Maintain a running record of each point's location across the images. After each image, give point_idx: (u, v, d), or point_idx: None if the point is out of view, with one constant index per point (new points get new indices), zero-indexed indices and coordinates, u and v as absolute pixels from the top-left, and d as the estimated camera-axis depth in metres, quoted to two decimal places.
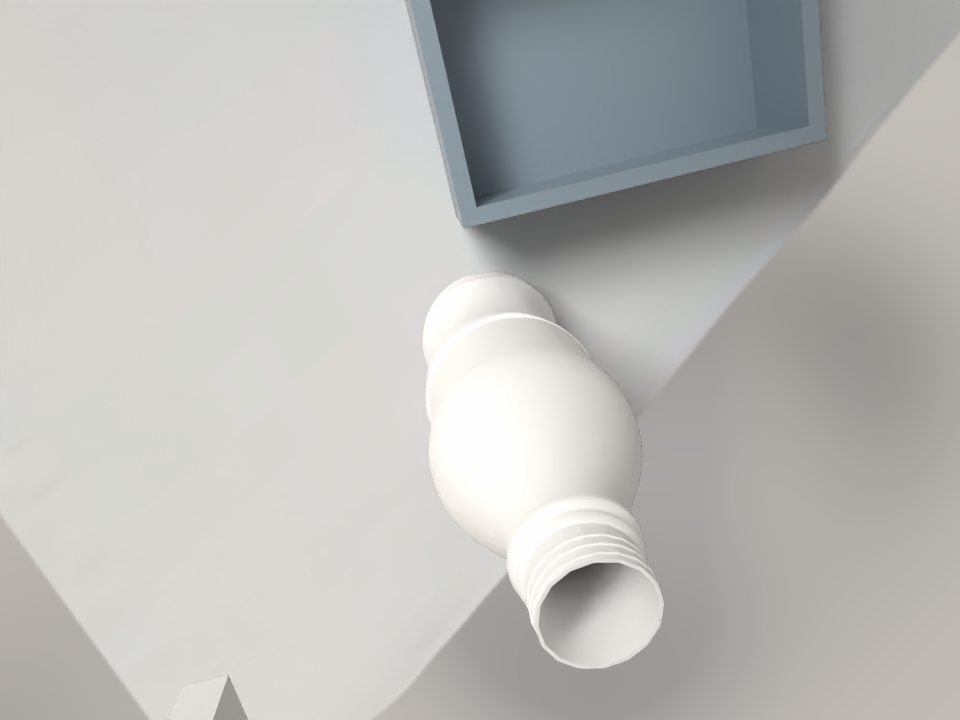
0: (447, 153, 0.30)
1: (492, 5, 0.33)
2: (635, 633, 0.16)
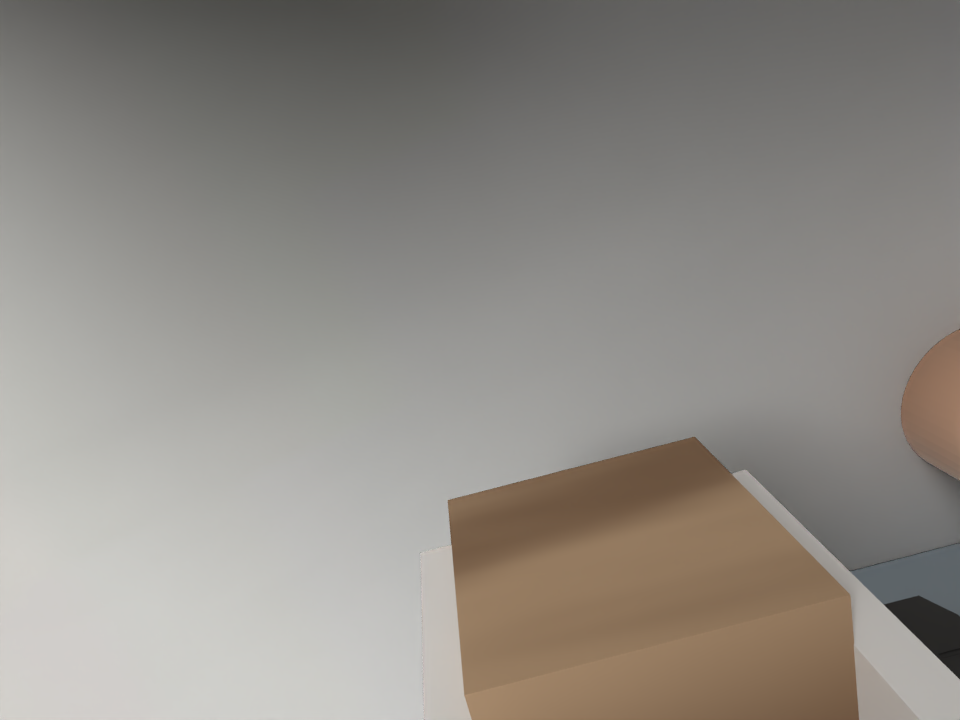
0: None
1: None
2: None
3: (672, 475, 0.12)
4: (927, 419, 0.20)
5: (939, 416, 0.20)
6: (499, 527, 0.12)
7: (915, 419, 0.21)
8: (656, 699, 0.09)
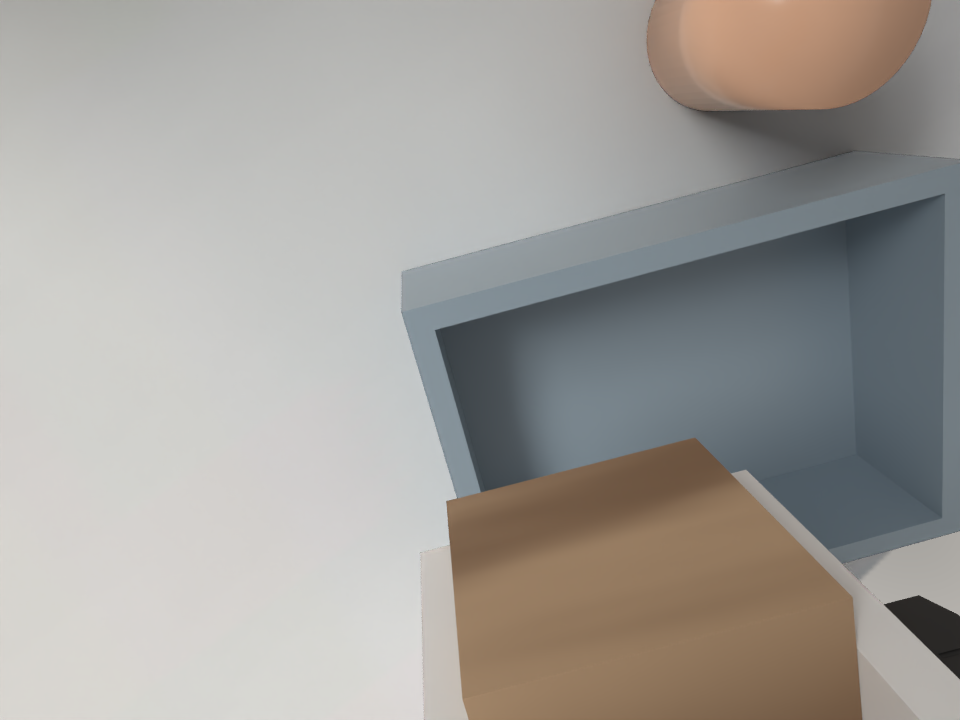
0: None
1: (532, 346, 0.26)
2: None
3: (672, 476, 0.12)
4: (658, 37, 0.22)
5: (663, 27, 0.22)
6: (498, 528, 0.12)
7: (653, 45, 0.23)
8: (656, 702, 0.09)
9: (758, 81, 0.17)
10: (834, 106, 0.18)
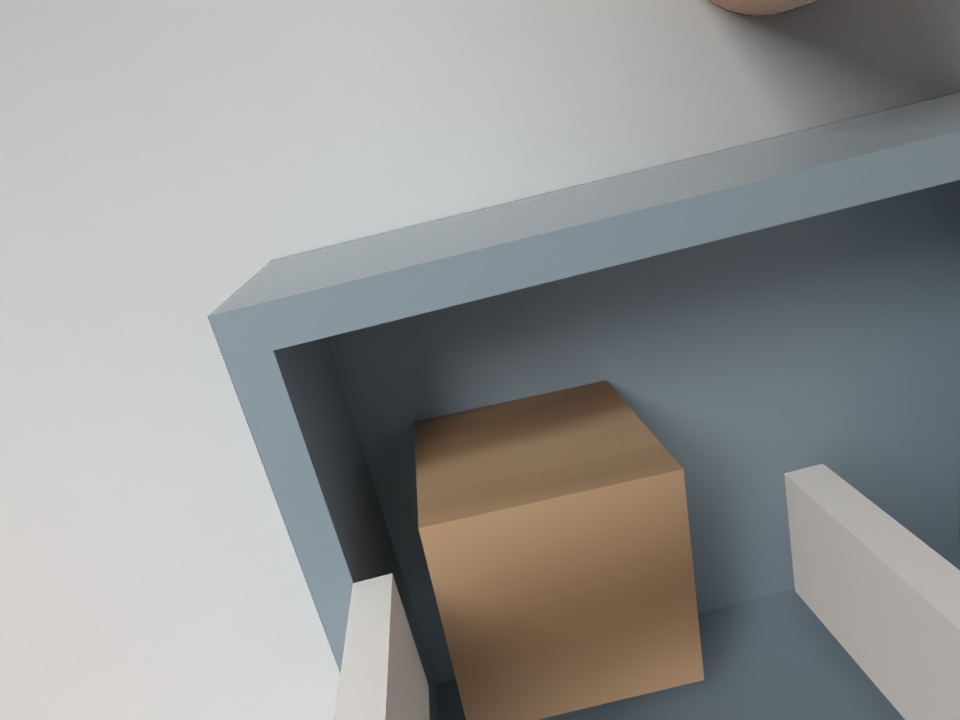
0: None
1: (479, 380, 0.17)
2: None
3: (583, 404, 0.16)
4: None
5: None
6: (452, 437, 0.16)
7: None
8: (551, 538, 0.13)
9: None
10: None
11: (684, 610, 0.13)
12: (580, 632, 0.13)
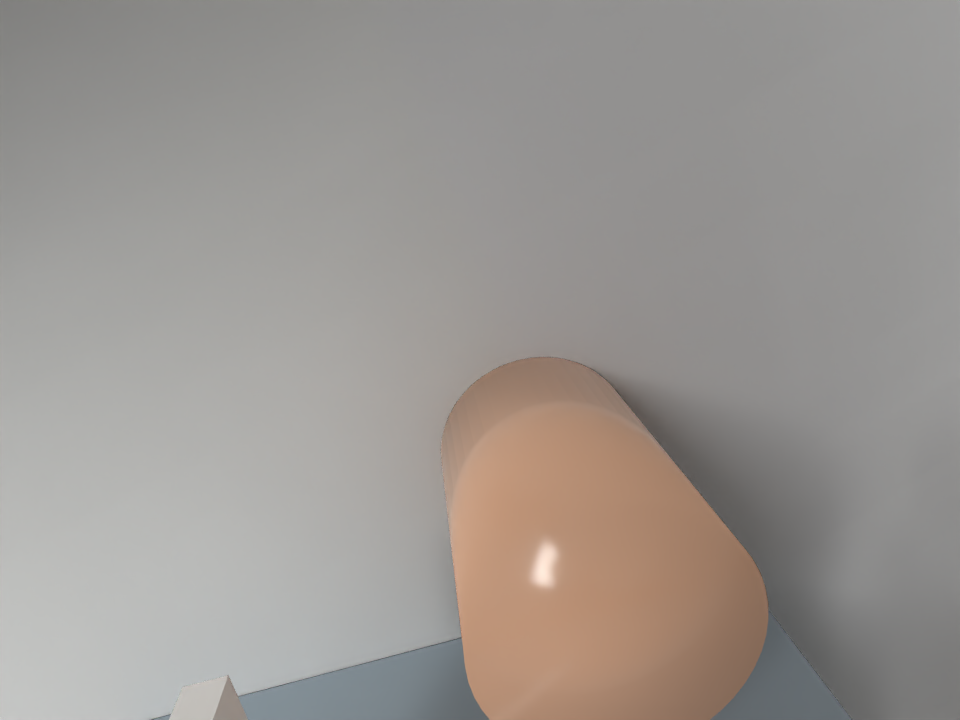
0: None
1: None
2: None
3: None
4: None
5: (444, 480, 0.16)
6: None
7: None
8: None
9: None
10: None
11: None
12: None
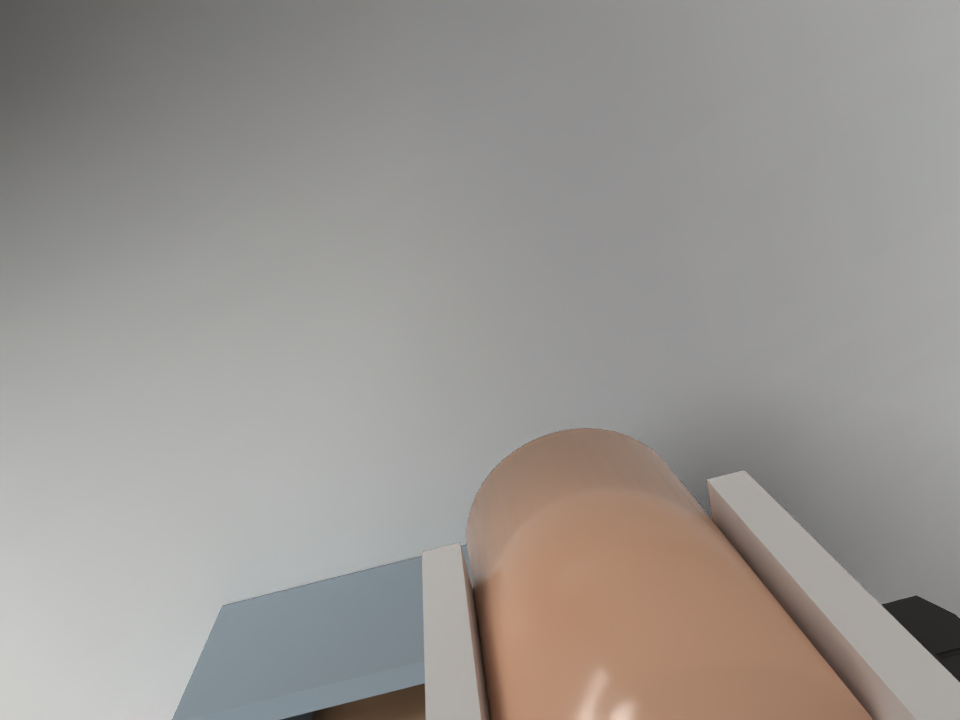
0: None
1: None
2: None
3: (419, 699, 0.25)
4: None
5: (471, 576, 0.13)
6: None
7: None
8: None
9: None
10: None
11: None
12: None
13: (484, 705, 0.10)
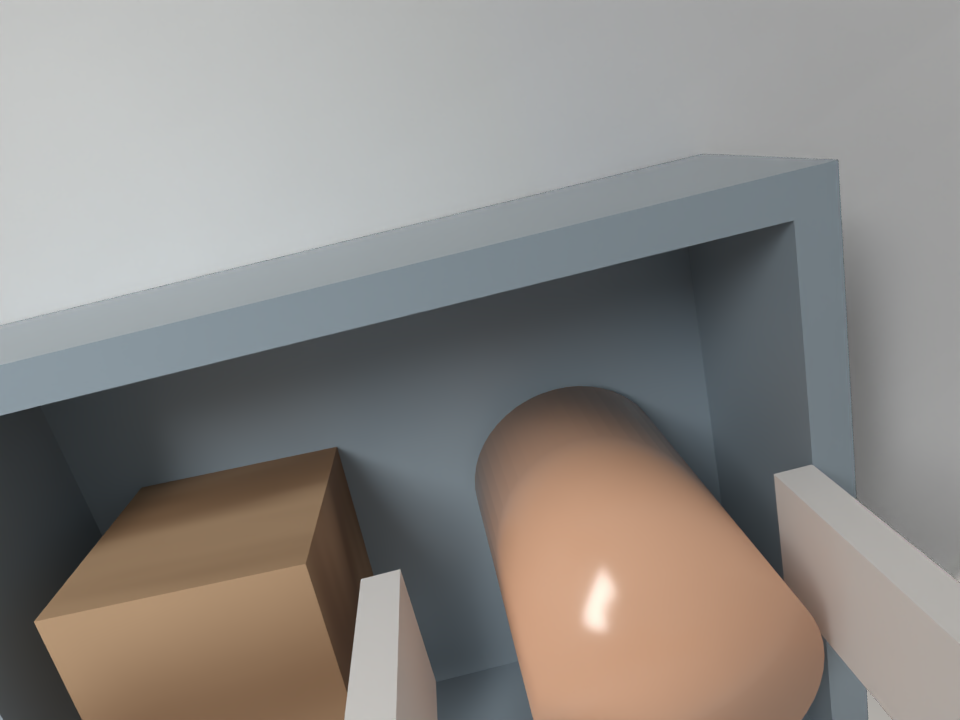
0: None
1: (203, 447, 0.17)
2: None
3: (293, 475, 0.16)
4: (481, 512, 0.16)
5: (483, 513, 0.16)
6: (154, 509, 0.16)
7: (479, 507, 0.17)
8: (177, 631, 0.13)
9: None
10: None
11: (335, 699, 0.13)
12: None
13: None
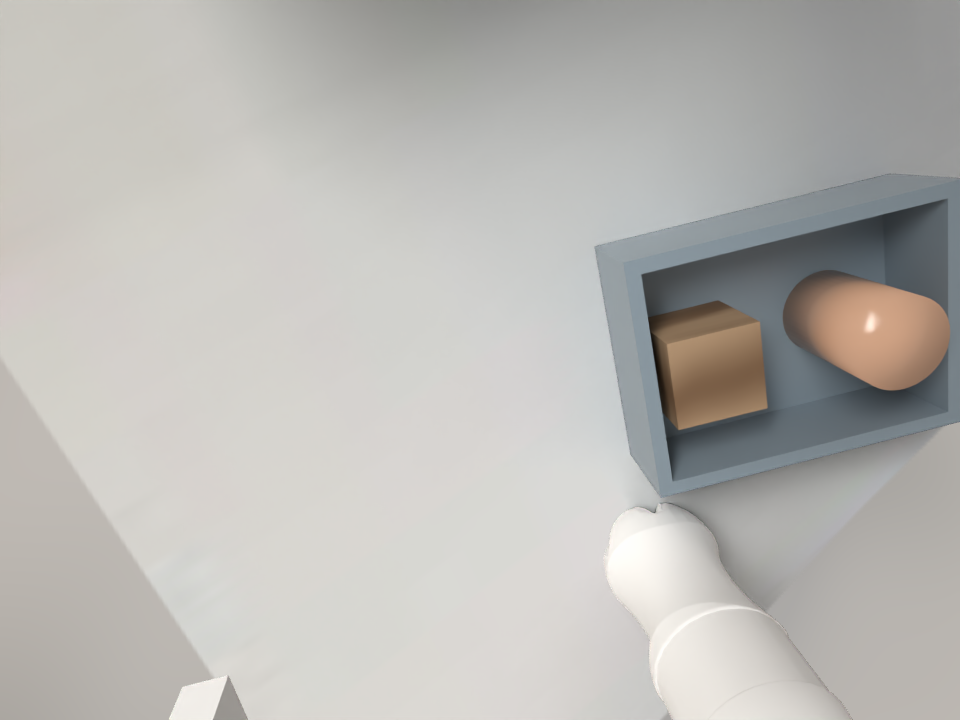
0: (653, 443, 0.37)
1: (675, 298, 0.39)
2: None
3: (712, 308, 0.39)
4: (792, 319, 0.39)
5: (797, 317, 0.39)
6: (659, 322, 0.38)
7: (788, 320, 0.40)
8: (712, 348, 0.35)
9: (861, 376, 0.35)
10: (899, 389, 0.35)
11: (760, 378, 0.36)
12: (721, 386, 0.36)
13: None
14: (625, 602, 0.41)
